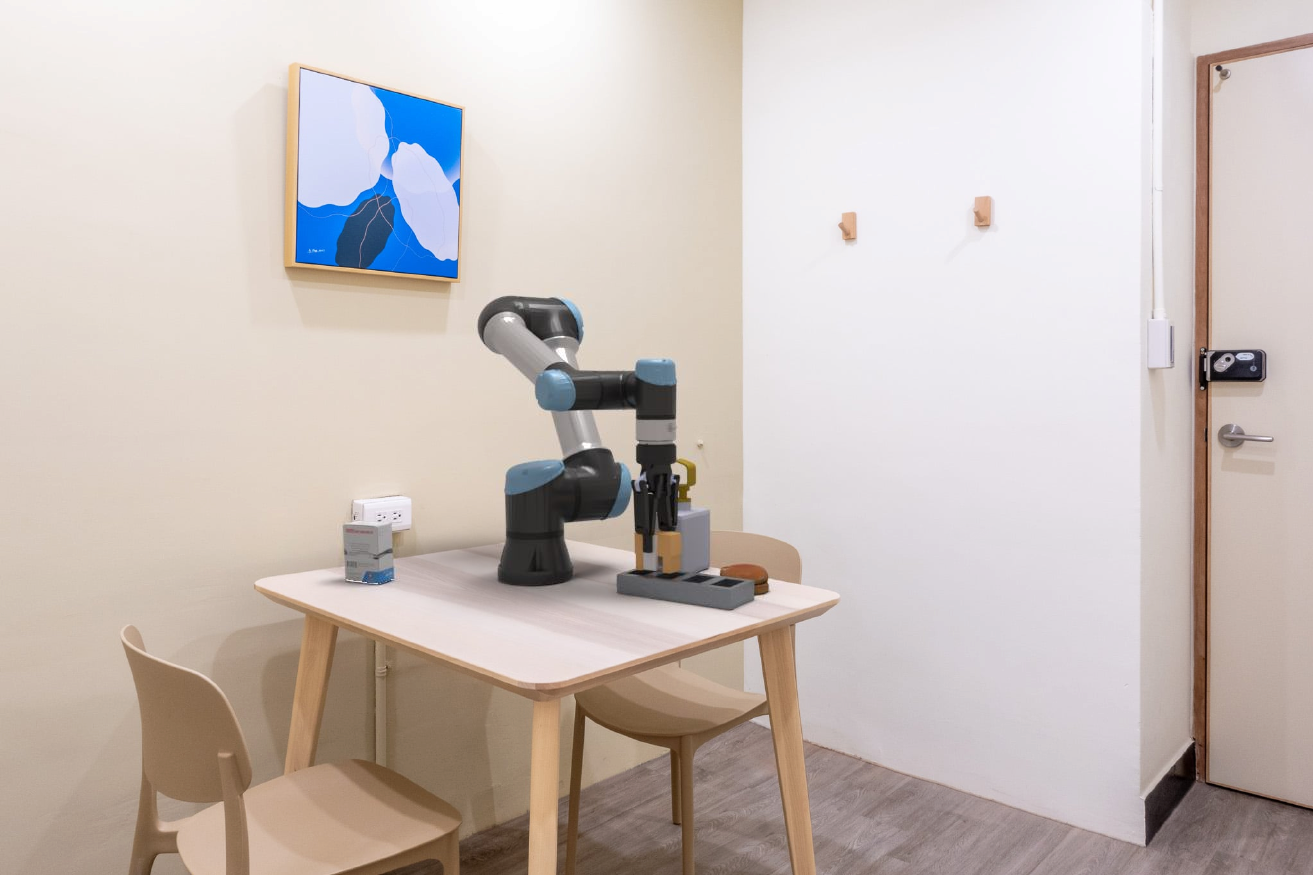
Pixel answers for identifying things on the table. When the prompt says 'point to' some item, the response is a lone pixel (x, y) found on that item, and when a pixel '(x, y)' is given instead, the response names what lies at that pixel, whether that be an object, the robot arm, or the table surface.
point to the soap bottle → (692, 527)
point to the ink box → (368, 551)
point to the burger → (748, 575)
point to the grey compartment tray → (687, 587)
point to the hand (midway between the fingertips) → (656, 567)
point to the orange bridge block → (662, 550)
